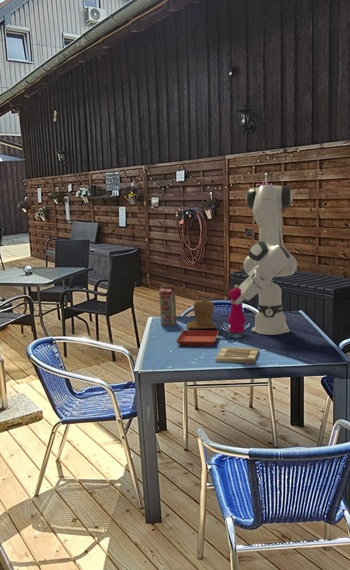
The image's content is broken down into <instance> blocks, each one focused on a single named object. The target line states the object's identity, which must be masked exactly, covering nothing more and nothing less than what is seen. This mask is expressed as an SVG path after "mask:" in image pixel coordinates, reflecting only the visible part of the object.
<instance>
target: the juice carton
mask: <svg viewBox="0 0 350 570" xmlns="http://www.w3.org/2000/svg"><path fill="white" fill-rule="evenodd" d="M158 292H159V311H160V312H159V313H160V325H161V326H174V325H175V324H176V323H177V307H176V306H177V305H176V304H177V303H176V289H175V287H174V285H173V284H171V283H167V284H166V283H162V284H160V289H159V291H158Z"/></svg>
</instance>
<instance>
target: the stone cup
mask: <svg viewBox="0 0 350 570" xmlns="http://www.w3.org/2000/svg"><path fill="white" fill-rule="evenodd" d="M214 309H215V304H214V302H213V301H211V300H197V299H196V300H195V301H194V304H193V313H194V316H195V317H194V318H195V320H193V321H189V322H187V324H186V329H187V330H209V329H215V328H216V327H217V325H216V323H214V322H212V318H213V315H214V314H213V313H214Z"/></svg>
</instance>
